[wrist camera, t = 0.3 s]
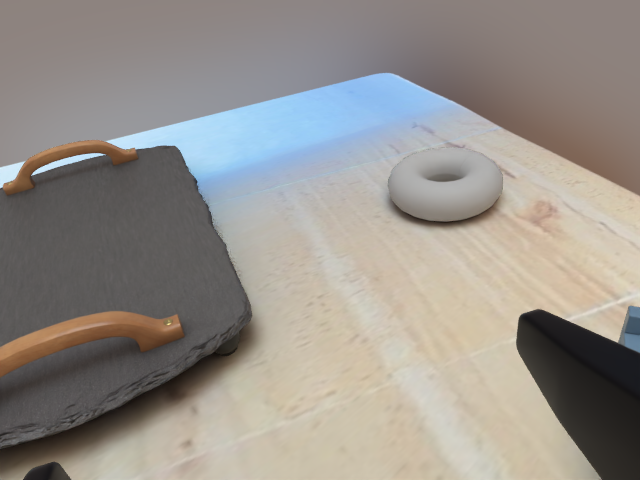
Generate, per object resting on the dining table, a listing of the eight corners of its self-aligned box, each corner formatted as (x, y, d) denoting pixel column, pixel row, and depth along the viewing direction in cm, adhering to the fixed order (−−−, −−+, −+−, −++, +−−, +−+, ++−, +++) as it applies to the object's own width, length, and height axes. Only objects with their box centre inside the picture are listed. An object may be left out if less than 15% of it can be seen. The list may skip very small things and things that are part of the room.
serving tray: (-21, 213, 56) (-52, 163, 53) (182, 155, 62) (166, 107, 59) (-138, 546, 26) (-228, 481, 22) (282, 374, 32) (262, 300, 28)
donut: (366, 209, 46) (463, 242, 40) (363, 176, 44) (463, 205, 38) (429, 165, 52) (523, 188, 45) (428, 133, 50) (526, 153, 43)
